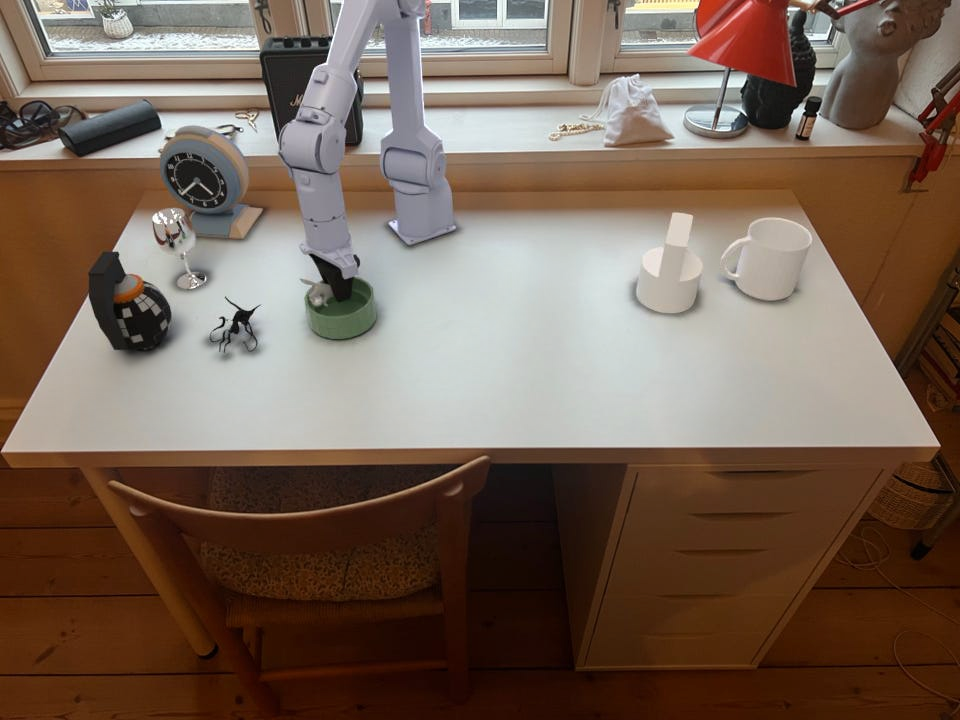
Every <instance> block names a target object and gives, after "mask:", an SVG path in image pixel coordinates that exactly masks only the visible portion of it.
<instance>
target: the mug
mask: <svg viewBox="0 0 960 720" xmlns="http://www.w3.org/2000/svg"><path fill="white" fill-rule="evenodd" d="M812 242H813V236H812V234H811V232H810V230H808V229H807V228H806V226H803V225H801V224H800V223H798V222H795V221H793V220H790V219H786V218H781V217H763V218H759V219H755V220H754V221H752V222H751V223H750V224H749V226H748V228H747V233H746V235H745V237H742V238H738V239H736V240H735V241H734V242H732V243H731V244H730V245H728V246H727V248H725V250H724V252H723V253H722V255H721V256H720V257H721V258H720V264H719V270H720V271H721V273H723V275H724V277H725V278H726V279H728V280H730V281H734V282H735V285H736V286H737V288H738V289H739V291H741V292H742V293H743V294H745V295H747V296H748V297H751V298H753V299H756V300H760V301H767V302H769V301H770V302H775V301H781V300H784V299H786V298H788V297H789V296H791V295H792V294H793V293H794V290H795V287H796V285H797V284H798V283H797V282H798V280H799V277H800V274H801V271H802V269H803V267H804V263H805V261H806V258H807V255H808V254H809V250H810V247H811V244H812ZM740 247H742V249H741V252H740V256H739V259H738V263H737V266H736V270H735V273H732V272H731V271H729V269H728V268H727V266H726V263H727V260H728V259H729V258H730V256H731V255H732V254H733V252H735V251H736V250H737V249H738V248H740Z"/></svg>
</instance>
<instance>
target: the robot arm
mask: <svg viewBox="0 0 960 720" xmlns="http://www.w3.org/2000/svg"><path fill="white" fill-rule="evenodd" d="M340 3H341V7H340V10H339V14H338V18H337V22H336V25H335V28H334V33H333V36H332V39H331V43H330V48H329V51H328V55H327V58H326V62H324V63H322V64H319V65H317V66H315V67H314V69H312V73H311V75H310V78H309V81H308V83H307V87H306V89H305V91H304V95H303V96H302V101H301V102H300V105H299V107H298V110H297V113H296V116H295V118H294V119H292V120H291V121H290V122H287V123H286V124H285V125H284V126H283V127H281V128H282V129H281V130H280V133H279V136H278V150H277V156H278V160H279V161H280V163H281V164H282V165H283V166H284V167H285V168H286V170H287V173H288V177H289V178H290V179H291V180H292V181H294V185H295V189H296V194H297V195H296V196H297V199H298V204H299V208H300V213H301V218H302V223H303V228H304V232H305V241H304V242H301V243H300V244H299V245H298V246H299V250H300V251H301V253H302V254H303V255H305V256H306V255H307V256H309V257H310V258H311V259H312V261H313V263H314V265H315V266H316V269H317V270H318V273H319V275H320V277H321V280H323V282H324V284H328V285H330V288H331V290H332V293H333V295H334V297H335V299H336V301H337V302H338V303H339V302H342V301H345V300H348V299H350V298H351V294H352V286H353V280H354V277H357V276H358V275H359V268H360V266H361V259H360V257H359V256H358V255H357V254H356V253H355V254H354V247H353V239H352V234H351V232H350V231H349V230H350V229H349V224H348V218H347V212H346V206H345V199H344V194H343V188H342V181H341V175H340V169H339V168H340V167H341V165H342V162H343V160H344V157H345V153H346V137H347V129H346V128H345V125H346V123H347V120H348V118H349V117H348V116H349V114H350V111H351V109H352V106H353V103H354V100H355V98H356V95H357V91H358V84H357V82H356V80H355V78H354V74H355V71H356V70H357V67H358V65H359V63H360V61H361V59H362V57H363V54H364V52H365V50H366V48H367V46H368V44H369V41H370V40H371V37H372V35H373V33H374V31H375V29H376V27H377V26H378V25H382V26H383V33H384V46H385V57H386V64H387V65H386V68H387V79H388V90H389V101H390V113H391V124H392V127H391V128H390V129H388V130H387V131H386V133H384V135H383V136H382V137H381V140H380V154H379V158H378V159H379V161H378V165H379V170H380V171H379V172H380V173H381V175H382V177H383V178H384V179H386V180H388V186H390V187H392V188H393V197H394V198H393V199H394V206H395V207H394V209H395V216H396V219H394V220H391V221H389V222H388V226H389V227H390V229H392V230H393V231H394V232H395V233H396V235H397V236H398V237H399V238H400V239H401V240H402V241H403V242H404V243H405V244H406V245H407V246H413V245H416V244H418V243H421V242H422V243H423V242H424V241H428V240H431V239H434V238H437V237H439V236H442V235H445V234H448V233H451V232H454V231H456V229H457V227H456V225H454V224H455V223H454V203H453V202H454V201H453V192H452V189H451V185H450V184H449V181H448V180H447V179H446V177H445V176H446V172H447V157H446V155H445V151H444V145H443V139H442V138H441V136H440V135H439V134H437V133H436V132H434V131H433V130H432V129H431V128H430V127H428V126H427V125H426V123H425V121H426V120H425V104H424V88H423V87H424V86H423V70H422V67H423V66H422V51H421V50H422V49H421V35H420V33H421V32H420V20H422V19H425V18H426V16H427V11H426V10H427V0H340Z"/></svg>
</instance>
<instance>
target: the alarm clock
mask: <svg viewBox="0 0 960 720" xmlns="http://www.w3.org/2000/svg"><path fill="white" fill-rule="evenodd" d="M159 159H160V160H159V170H160V175H161V179H162V182H163V184H164V186H165V188H166V189H167V191H168V192H169V193H170V195H171V196H172V197H173V198H174V199H175V200H177V202H179V203H180V204H182V205H183V206H185V207H186V208H187V209H190V210H192V211H193V212H192V213H191V214H190V215H189V216H188V218H189V219H190V221H191V223H192V225H193V227H194V230H195V233H196V237H205V238H218V239H232V240H233V239H235V240H244V239H245V237H246V236H247V234H248V233H249V231H250V230H251V229H252V227H253V225H254V224H255V223H256V221H257V220H258V218H259V217H260V215H261V214H262V212H263V211H264V208H262V207H254V206H253V207H252V206H250V205H247V204H242V203H240V202H241V201H242V199H243V198H244V197H245V195H246V193H247V192H248V189H249V185H250V171H249V165H248V163H247V160H246V158H245V155H244V154H243V152H242V150H241V149H240V147H239V146H238V145H236V143H235V142H234V141H233V140H231V139H230V138H229V137H228V136H226V135H224V134H222V133H221V132H218V131H215V130H214V129H211V128H208V127H205V126H202V125H195V124H193V125H191V124H190V125H184V126H181V127H179V128H178V129H177V130H176V131H175V132H174V135H173V136H171V138H170V139H169V140H168V141H167V142H166V143H165V144H164V146H163V148H162V150H161V152H160V158H159Z"/></svg>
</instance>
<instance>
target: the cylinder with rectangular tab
mask: <svg viewBox="0 0 960 720" xmlns="http://www.w3.org/2000/svg"><path fill="white" fill-rule="evenodd" d="M693 220H694V215H692V214H688V213H684V212H676V211H675V212H672V214H671V218H670V222H669V226H668V230H667V234H666V237H665V242H664V246H658V247H653V248H651V249H649V250H647V251H646V252H645V253H643V255H642V257H641V261H640V267H639V273H638V277H637V283H636V288H635V289H636V290H635V295H636V298H637V300H638V301H639V303H640V304H642V305H643V306H644V307H645V308H647V309H650V310H652V311H654V312H657V313H661V314H680V313H682V312H685V311H688V310H689V309H691V307H693V306H694V304H695V301H696V297H697V294H698V290H699V286H700V283H701V282H700V281H701V278H702V274H703V270H704V266H703V264H704V263H703V262H702V260H701V258H700V257H698V256H697V255H696V254H694V253H693V252H692V251H691V250H687V248H688V244H689V238H690V234H691V229H692V224H693Z"/></svg>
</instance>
